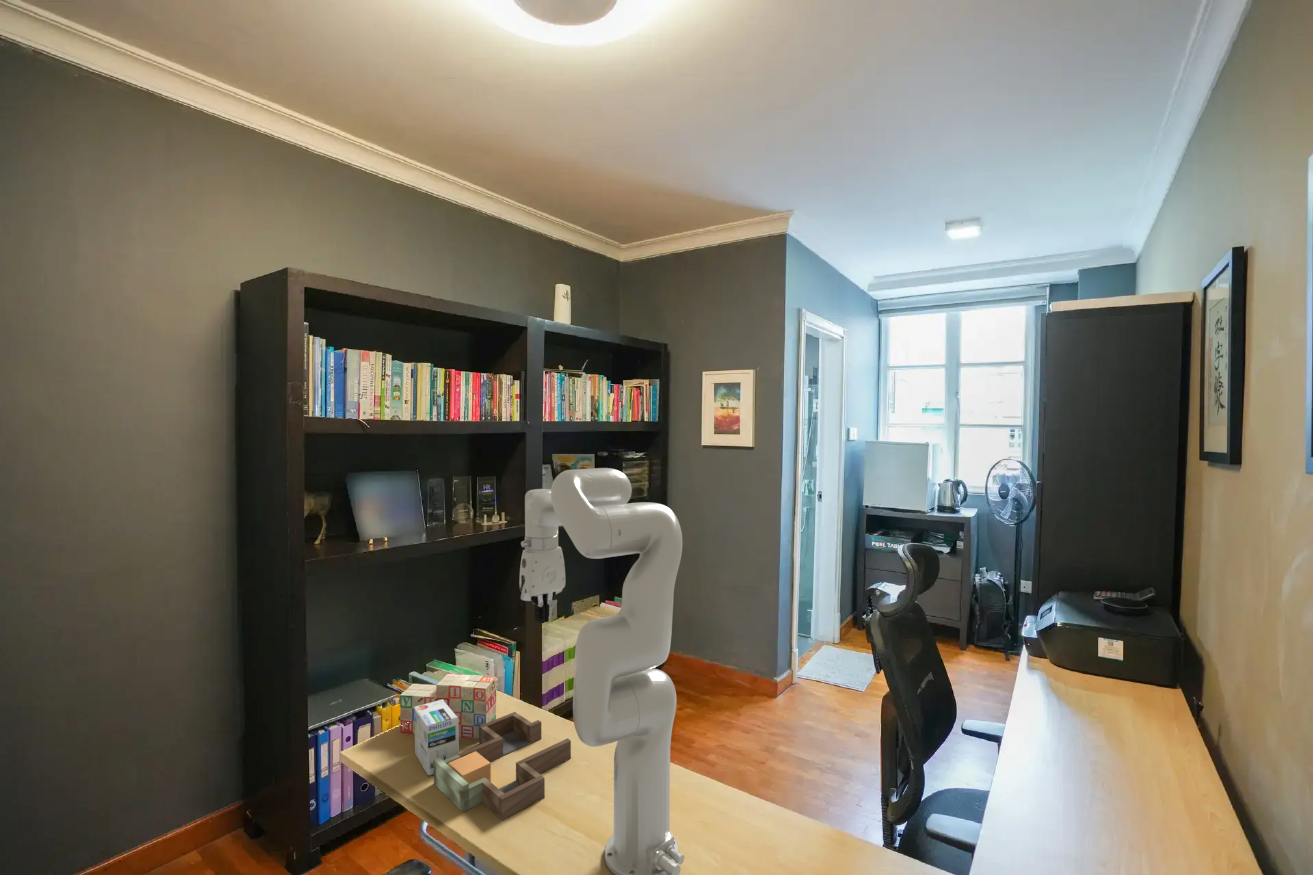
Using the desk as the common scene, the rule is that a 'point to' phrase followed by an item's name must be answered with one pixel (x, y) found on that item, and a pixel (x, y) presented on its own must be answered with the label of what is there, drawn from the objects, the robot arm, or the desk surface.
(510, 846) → the desk surface
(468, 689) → the stack of blocks
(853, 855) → the desk surface
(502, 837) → the desk surface
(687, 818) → the desk surface
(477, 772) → the block
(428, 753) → the light bulb box
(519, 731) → the box
